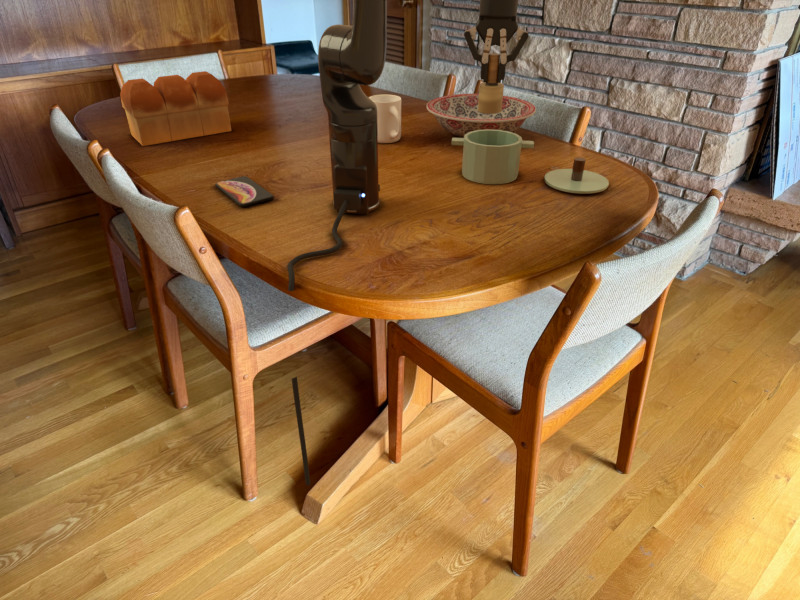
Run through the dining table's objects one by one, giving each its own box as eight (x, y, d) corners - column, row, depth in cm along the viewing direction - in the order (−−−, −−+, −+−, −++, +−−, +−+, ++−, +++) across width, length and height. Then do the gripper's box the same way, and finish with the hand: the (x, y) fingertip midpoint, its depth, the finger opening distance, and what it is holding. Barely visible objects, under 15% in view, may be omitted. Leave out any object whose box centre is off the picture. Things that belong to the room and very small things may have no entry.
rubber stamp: (501, 114, 122) (507, 56, 116) (477, 113, 122) (481, 56, 116) (501, 108, 126) (506, 52, 120) (477, 107, 127) (481, 51, 121)
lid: (613, 198, 120) (619, 171, 117) (546, 194, 121) (550, 168, 118) (602, 175, 131) (607, 150, 128) (541, 172, 133) (544, 147, 130)
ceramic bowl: (410, 126, 164) (410, 98, 160) (499, 117, 173) (501, 90, 168) (453, 157, 141) (454, 125, 137) (553, 145, 150) (558, 114, 145)
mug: (385, 149, 147) (384, 106, 141) (363, 137, 155) (362, 96, 149) (413, 144, 150) (414, 102, 144) (391, 132, 159) (390, 92, 153)
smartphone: (241, 204, 114) (213, 182, 124) (241, 208, 114) (214, 186, 124) (275, 195, 117) (245, 174, 128) (275, 199, 118) (246, 178, 128)
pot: (531, 186, 125) (536, 148, 121) (448, 182, 127) (450, 144, 123) (527, 166, 136) (532, 131, 131) (451, 163, 138) (453, 127, 133)
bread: (141, 146, 148) (126, 87, 140) (129, 134, 156) (115, 78, 148) (233, 130, 160) (224, 75, 152) (217, 120, 169) (208, 67, 161)
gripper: (463, -10, 109) (458, 84, 119) (537, -9, 108) (526, 86, 117) (464, -13, 116) (460, 77, 125) (534, -12, 114) (524, 79, 123)
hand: (492, 81), depth 121 cm, fingers closed on rubber stamp, 2 cm apart
